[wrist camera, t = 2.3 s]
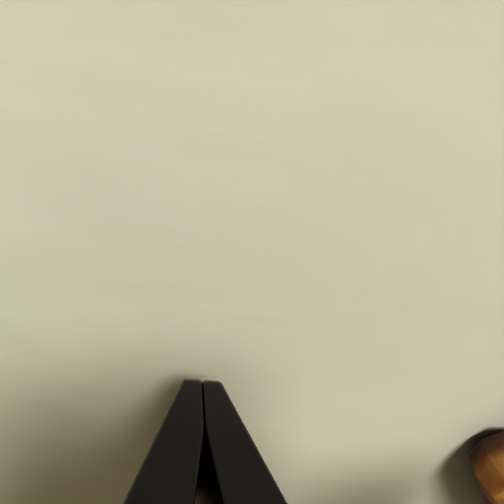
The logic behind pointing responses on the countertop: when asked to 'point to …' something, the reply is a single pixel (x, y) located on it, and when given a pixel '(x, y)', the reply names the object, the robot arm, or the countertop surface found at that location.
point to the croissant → (490, 467)
